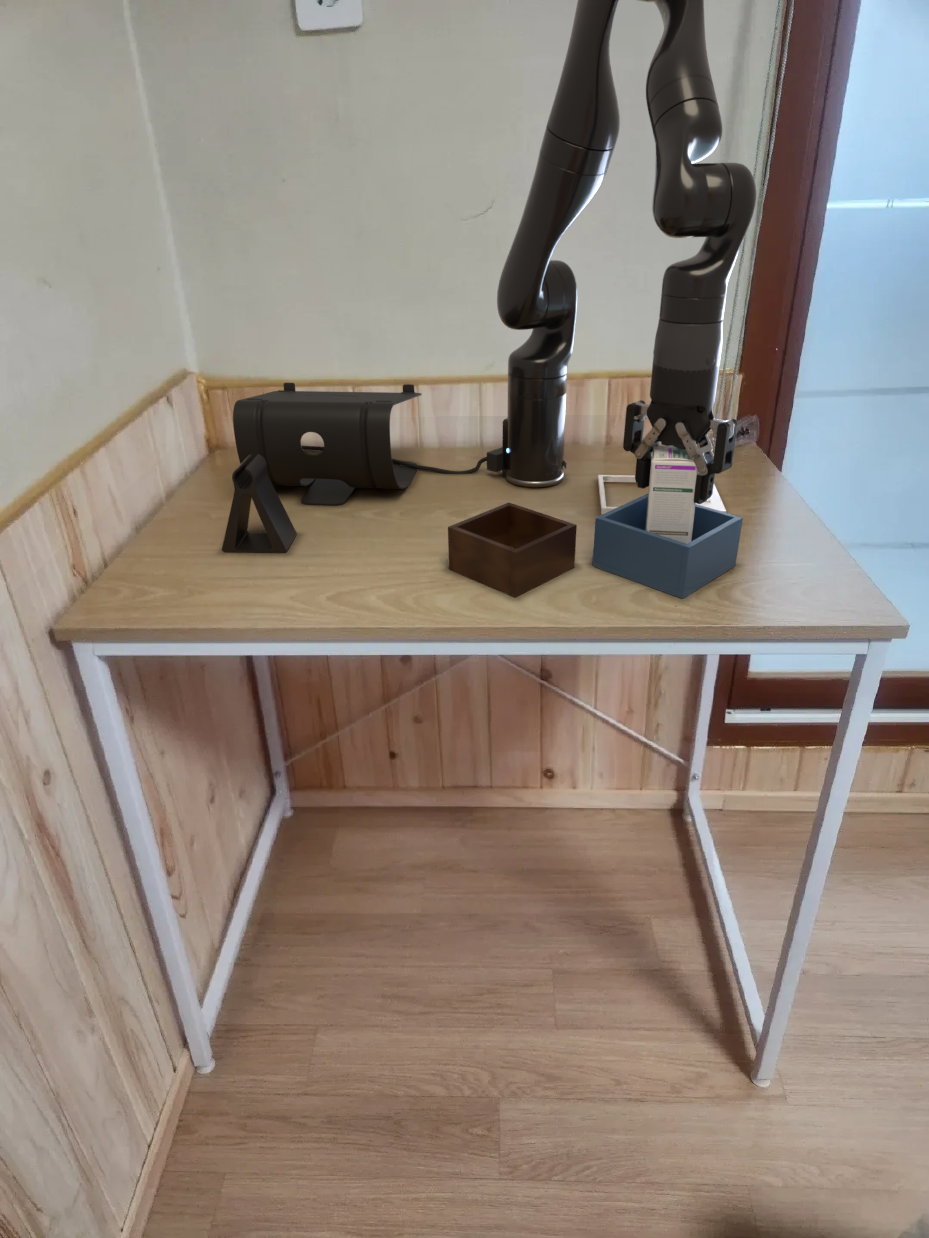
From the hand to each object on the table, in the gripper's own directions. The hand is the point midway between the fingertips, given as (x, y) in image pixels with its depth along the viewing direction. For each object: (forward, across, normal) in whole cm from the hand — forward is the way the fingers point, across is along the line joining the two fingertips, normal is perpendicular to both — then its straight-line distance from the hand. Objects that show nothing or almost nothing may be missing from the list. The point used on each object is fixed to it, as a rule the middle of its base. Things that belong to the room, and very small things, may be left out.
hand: (671, 494), depth 105 cm
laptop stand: (+10, +57, +9) cm, 59 cm away
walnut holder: (+10, +14, +14) cm, 22 cm away
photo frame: (+10, +14, -20) cm, 26 cm away
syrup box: (+9, 0, 0) cm, 9 cm away
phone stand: (+10, +45, +32) cm, 56 cm away
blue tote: (+10, 0, 0) cm, 10 cm away
